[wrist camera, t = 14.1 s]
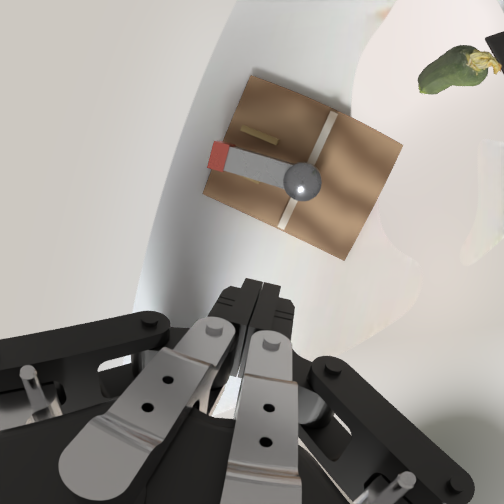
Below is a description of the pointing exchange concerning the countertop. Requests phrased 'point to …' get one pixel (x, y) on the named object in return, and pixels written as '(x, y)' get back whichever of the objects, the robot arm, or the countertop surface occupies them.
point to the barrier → (497, 47)
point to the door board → (312, 151)
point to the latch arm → (267, 170)
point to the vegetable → (457, 69)
